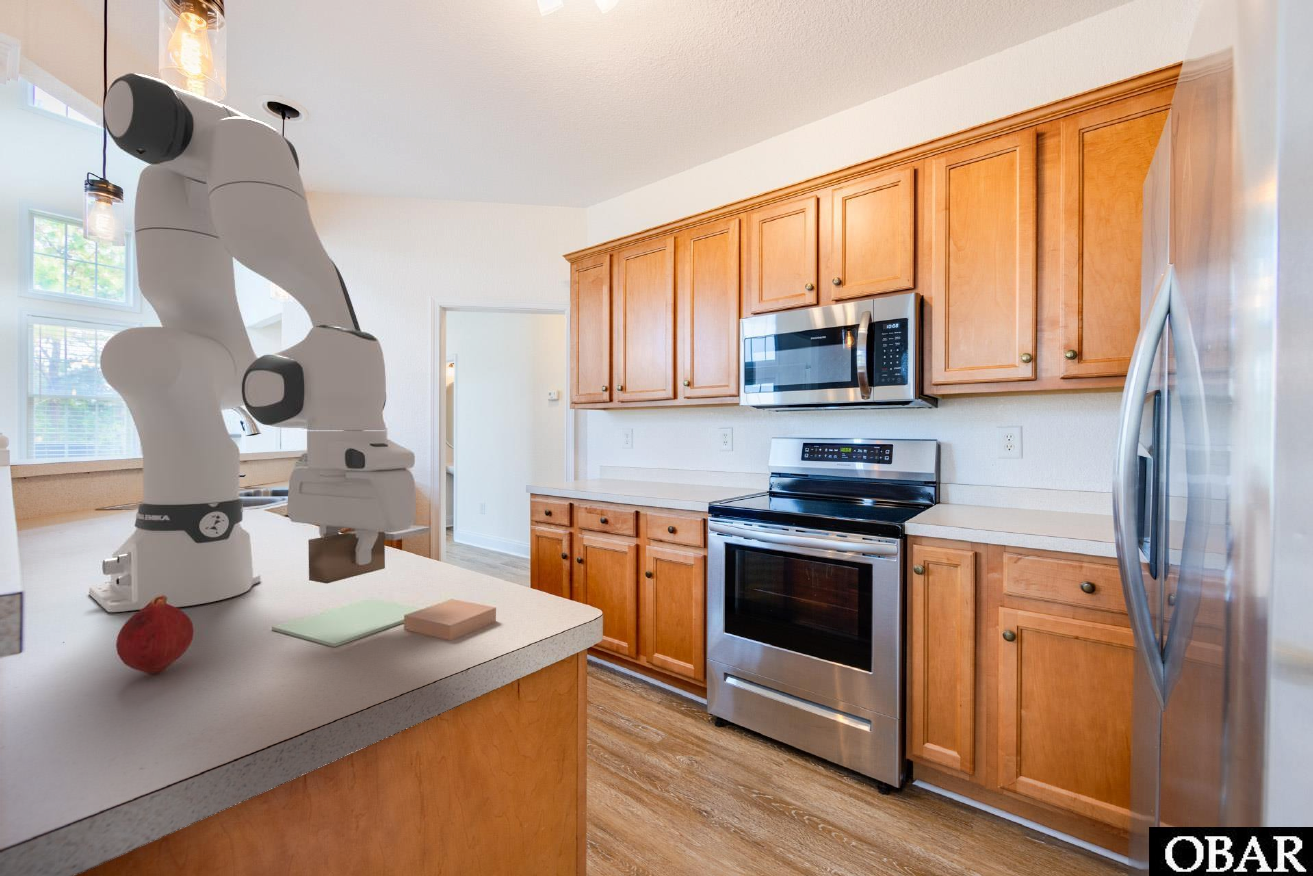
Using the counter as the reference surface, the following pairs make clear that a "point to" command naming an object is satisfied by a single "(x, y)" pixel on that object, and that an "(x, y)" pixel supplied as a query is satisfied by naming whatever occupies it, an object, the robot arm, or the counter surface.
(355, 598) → the counter surface
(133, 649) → the onion
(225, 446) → the robot arm
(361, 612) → the plate
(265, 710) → the counter surface
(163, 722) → the counter surface
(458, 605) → the tile
